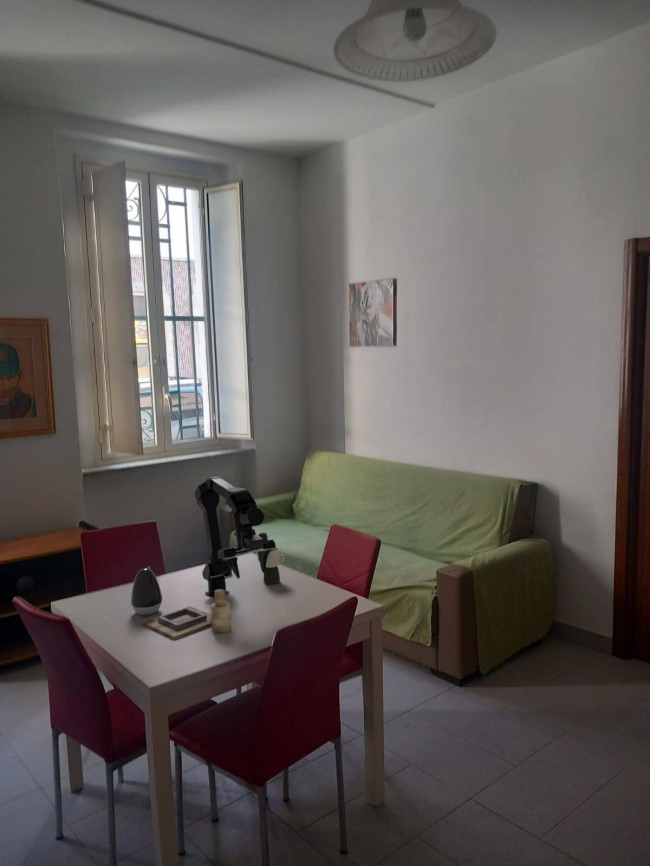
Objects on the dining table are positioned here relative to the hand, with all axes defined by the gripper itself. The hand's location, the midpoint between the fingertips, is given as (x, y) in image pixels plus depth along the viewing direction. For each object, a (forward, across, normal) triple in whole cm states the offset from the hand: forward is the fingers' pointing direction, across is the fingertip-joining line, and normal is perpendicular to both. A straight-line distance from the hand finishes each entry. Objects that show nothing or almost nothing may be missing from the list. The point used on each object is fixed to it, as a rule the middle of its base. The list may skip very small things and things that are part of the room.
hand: (251, 575), depth 215 cm
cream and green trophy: (+7, +22, +28) cm, 36 cm away
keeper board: (+11, -21, +12) cm, 26 cm away
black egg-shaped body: (+7, -26, +29) cm, 40 cm away
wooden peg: (+14, -13, 0) cm, 19 cm away
